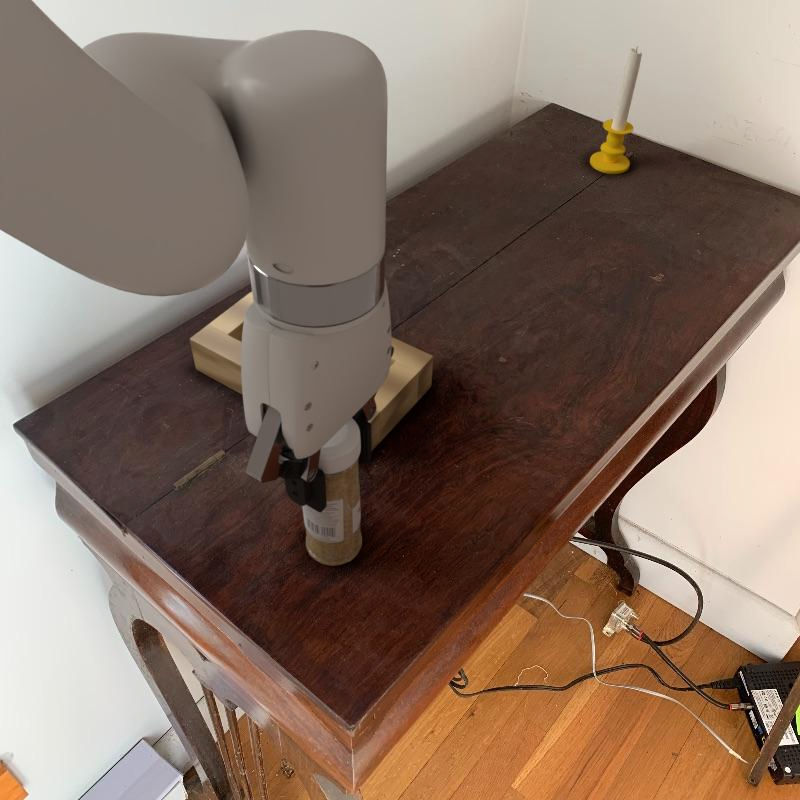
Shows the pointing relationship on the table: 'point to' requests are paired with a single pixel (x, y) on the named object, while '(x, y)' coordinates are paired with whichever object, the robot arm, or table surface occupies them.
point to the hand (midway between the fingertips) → (329, 474)
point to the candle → (619, 123)
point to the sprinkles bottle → (337, 501)
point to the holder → (394, 398)
